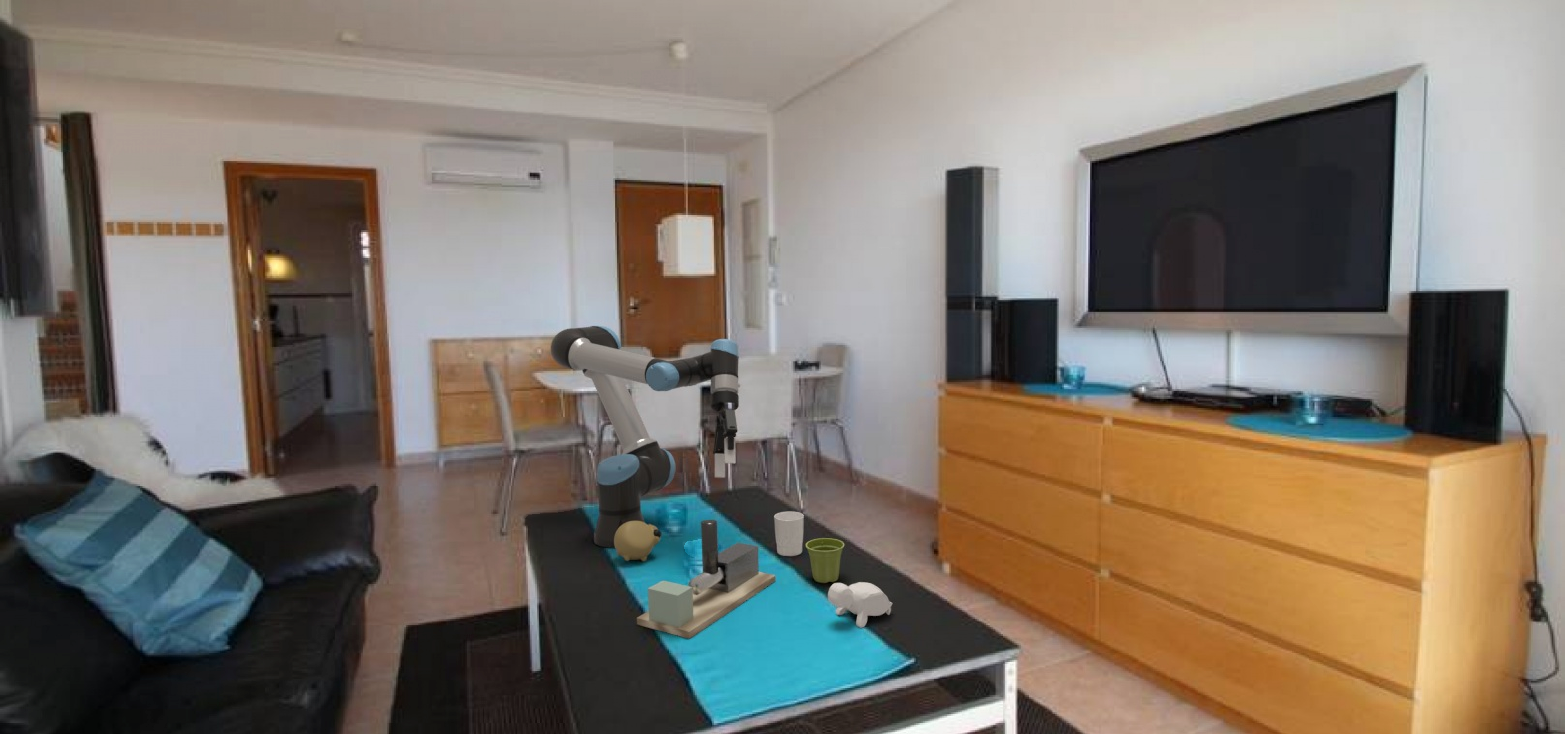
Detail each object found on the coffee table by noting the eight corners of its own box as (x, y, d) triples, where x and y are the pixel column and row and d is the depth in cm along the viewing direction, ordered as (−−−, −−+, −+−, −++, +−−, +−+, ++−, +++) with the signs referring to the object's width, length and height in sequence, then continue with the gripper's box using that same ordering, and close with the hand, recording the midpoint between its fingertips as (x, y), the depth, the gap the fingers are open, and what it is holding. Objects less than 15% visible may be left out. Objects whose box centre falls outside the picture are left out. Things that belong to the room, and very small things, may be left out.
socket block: (649, 619, 162) (647, 588, 161) (664, 610, 166) (662, 580, 165) (679, 627, 158) (677, 595, 157) (693, 618, 162) (692, 587, 161)
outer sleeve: (707, 588, 178) (706, 559, 177) (738, 569, 189) (738, 542, 188) (728, 592, 175) (727, 563, 174) (758, 573, 186) (758, 546, 185)
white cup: (804, 557, 201) (803, 520, 200) (774, 557, 201) (773, 520, 200) (804, 546, 209) (803, 511, 207) (775, 547, 209) (774, 511, 208)
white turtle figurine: (864, 618, 171) (813, 610, 162) (874, 580, 172) (824, 571, 163) (889, 632, 164) (837, 624, 155) (900, 593, 165) (849, 583, 156)
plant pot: (799, 582, 184) (798, 547, 183) (816, 569, 192) (815, 535, 191) (835, 588, 180) (834, 553, 179) (850, 575, 188) (850, 540, 187)
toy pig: (666, 559, 201) (665, 520, 200) (624, 570, 194) (622, 529, 193) (651, 549, 209) (649, 511, 208) (609, 559, 203) (607, 520, 201)
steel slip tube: (688, 593, 170) (686, 528, 168) (740, 562, 187) (738, 504, 186) (701, 596, 168) (699, 530, 166) (752, 565, 185) (750, 506, 184)
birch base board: (637, 624, 163) (636, 617, 163) (727, 571, 192) (727, 565, 192) (689, 638, 156) (689, 631, 156) (775, 581, 185) (775, 575, 185)
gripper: (748, 377, 197) (749, 457, 188) (729, 410, 219) (729, 483, 210) (719, 375, 195) (719, 455, 186) (703, 409, 217) (702, 482, 208)
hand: (724, 470), depth 198 cm, fingers open, 13 cm apart
